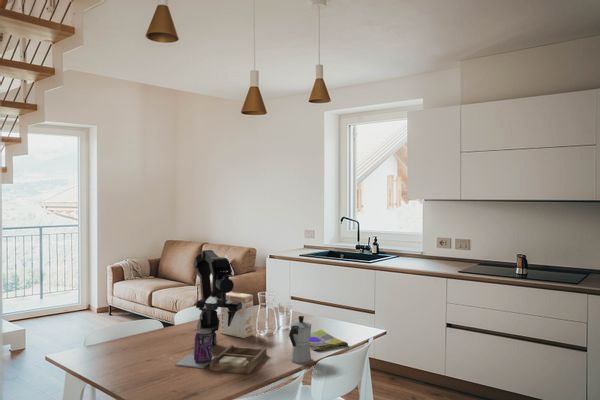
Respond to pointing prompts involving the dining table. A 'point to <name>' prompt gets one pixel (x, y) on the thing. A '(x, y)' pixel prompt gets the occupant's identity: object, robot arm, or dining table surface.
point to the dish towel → (324, 341)
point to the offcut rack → (241, 350)
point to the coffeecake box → (238, 316)
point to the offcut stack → (233, 361)
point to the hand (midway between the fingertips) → (218, 325)
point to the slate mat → (192, 362)
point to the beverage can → (203, 345)
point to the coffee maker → (300, 341)
